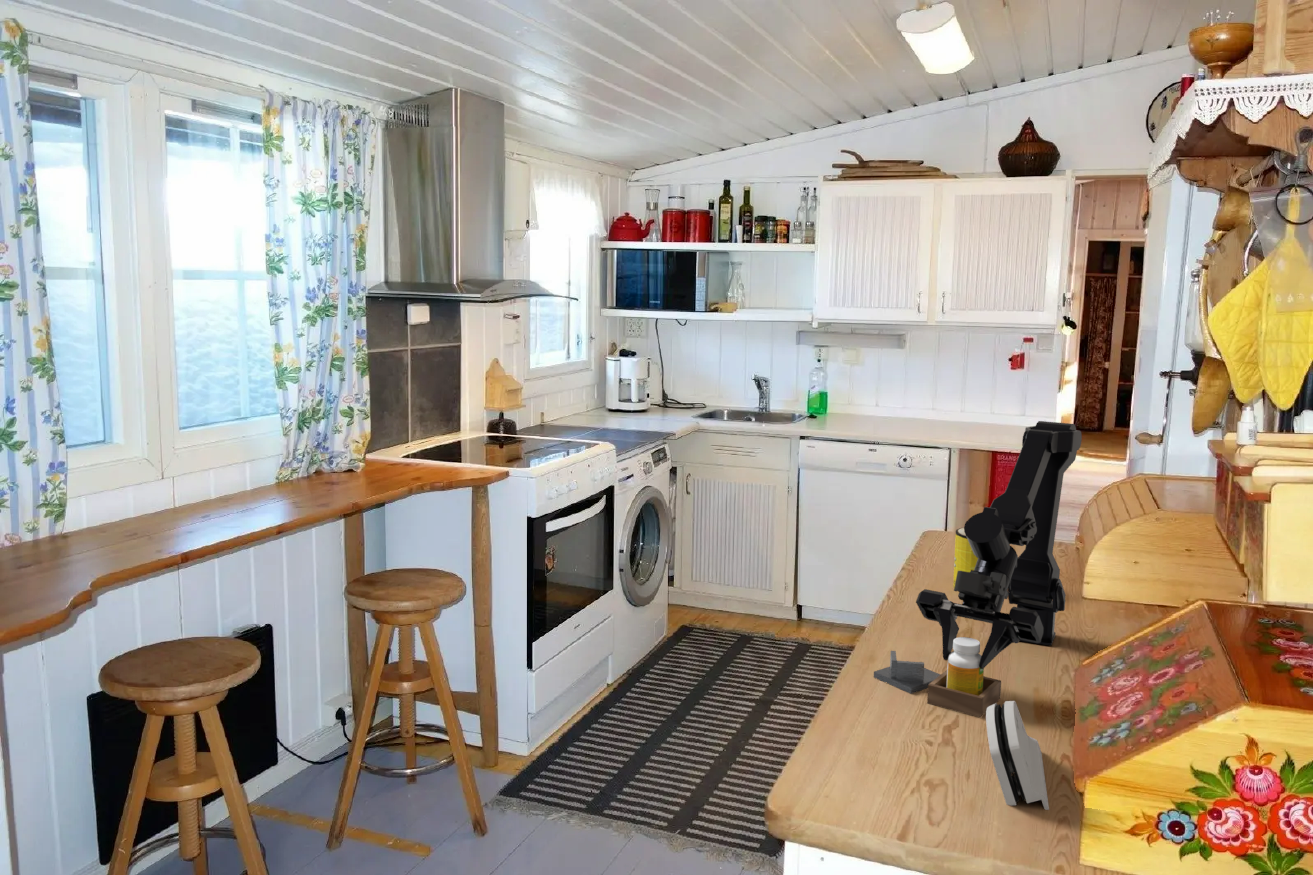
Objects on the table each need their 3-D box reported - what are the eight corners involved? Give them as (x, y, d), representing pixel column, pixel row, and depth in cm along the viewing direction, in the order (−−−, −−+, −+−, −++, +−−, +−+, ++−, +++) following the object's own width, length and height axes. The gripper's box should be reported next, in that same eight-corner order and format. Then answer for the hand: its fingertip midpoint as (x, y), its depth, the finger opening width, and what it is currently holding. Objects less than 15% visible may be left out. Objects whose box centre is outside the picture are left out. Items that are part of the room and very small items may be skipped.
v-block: (907, 666, 172) (908, 643, 171) (944, 682, 165) (946, 658, 165) (873, 677, 167) (874, 654, 167) (911, 693, 161) (912, 669, 160)
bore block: (948, 685, 164) (949, 667, 163) (1000, 698, 159) (1001, 680, 158) (927, 703, 157) (927, 684, 157) (980, 717, 152) (981, 698, 152)
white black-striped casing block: (1049, 811, 126) (1024, 736, 126) (1010, 818, 128) (985, 744, 127) (1041, 750, 142) (1019, 684, 141) (1006, 757, 144) (984, 691, 143)
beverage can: (1003, 586, 215) (1006, 530, 213) (991, 597, 207) (994, 540, 205) (960, 579, 220) (962, 525, 218) (947, 590, 212) (950, 534, 210)
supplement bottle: (983, 709, 155) (987, 649, 153) (947, 707, 156) (949, 646, 154) (980, 695, 160) (983, 636, 159) (944, 692, 161) (947, 634, 160)
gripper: (922, 540, 163) (890, 625, 156) (1042, 560, 152) (1013, 652, 145) (940, 576, 170) (910, 658, 164) (1055, 597, 159) (1028, 687, 152)
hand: (962, 663), depth 156 cm, fingers closed on supplement bottle, 5 cm apart
